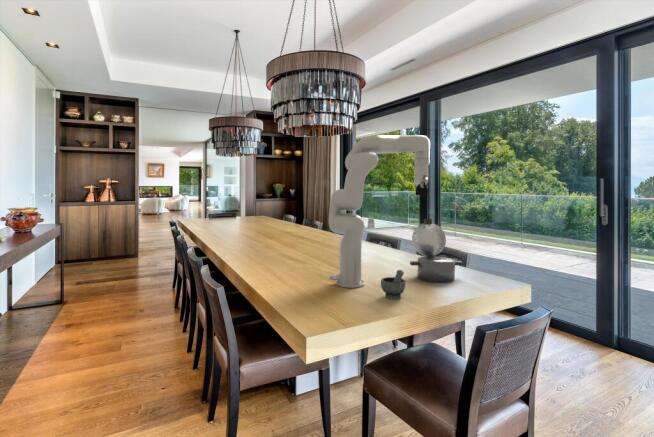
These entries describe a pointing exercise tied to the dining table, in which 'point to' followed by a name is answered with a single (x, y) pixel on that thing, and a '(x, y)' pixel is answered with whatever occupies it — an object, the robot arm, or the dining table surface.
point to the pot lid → (428, 238)
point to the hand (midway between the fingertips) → (421, 195)
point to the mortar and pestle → (393, 286)
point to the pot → (436, 269)
